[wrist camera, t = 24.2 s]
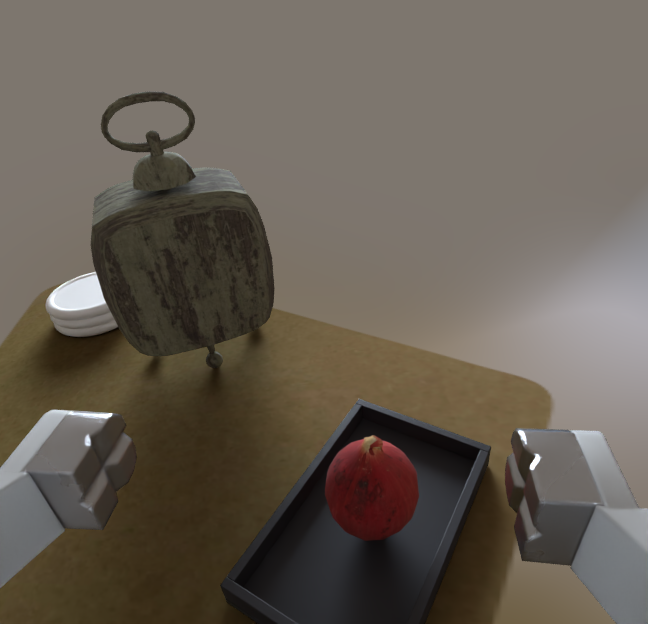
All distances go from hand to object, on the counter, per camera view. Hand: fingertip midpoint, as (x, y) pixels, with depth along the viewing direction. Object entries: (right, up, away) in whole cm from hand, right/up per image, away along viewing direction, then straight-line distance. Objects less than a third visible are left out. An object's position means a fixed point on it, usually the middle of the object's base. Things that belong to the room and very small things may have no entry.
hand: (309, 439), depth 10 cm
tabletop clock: (-11, -2, +40) cm, 41 cm away
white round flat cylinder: (-27, +2, +48) cm, 55 cm away
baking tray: (+3, -12, +22) cm, 26 cm away
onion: (+4, -12, +22) cm, 25 cm away
